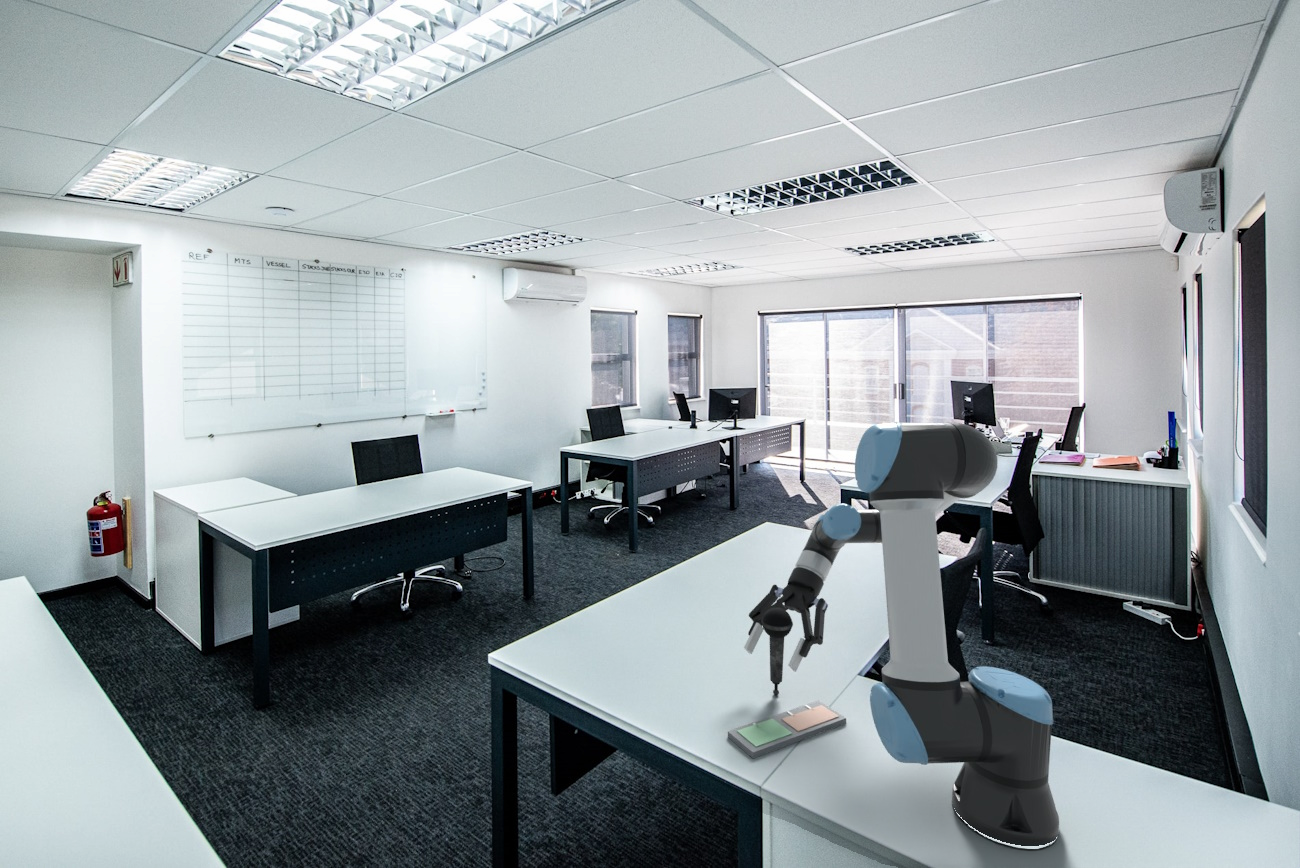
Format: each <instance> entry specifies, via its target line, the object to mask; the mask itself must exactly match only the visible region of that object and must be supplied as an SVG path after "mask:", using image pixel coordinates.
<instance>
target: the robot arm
mask: <svg viewBox="0 0 1300 868" xmlns="http://www.w3.org/2000/svg"><path fill="white" fill-rule="evenodd" d="M854 462H855V463H854V477H855V480H856V485H857V487H858V489H859V490H860V491H861V492H864V493H866V494H869V495H868V496H869V504H870V505H871V506H872V507H873V508H874V509H856V508H855V507H854V506H851V505H850V504H847V503H837V504H835V505H833V506H832V507H831V508H830V509H828V510H826V511H825V513H824V514H821V515H820V516H819V517H818V519H817V520H816V521H815V523H814V526H813V528H812V531H811V533H810V535H809V537H808V539H807V541H806V544H805V545H804V548H803V549H802V551H801V552H800V555H799V557H798V559H797V561H796V563H795V567H794V568H793V570H792V571H791V574H790V576H789V577H788V580H787V584H786V586H785V587H783V588H782V587H779V586H778V585H777V584H773V585H772V586H771V588H770V590H769V592H768V593H767V594H766V595H765V596H764V598H763V599H761V601H759V602H758V604H757V605H756V606H755V607H754V608H753V609H752V610H751V611H750V612H749V613H748V617H749V618H750V619H751V620H752V624H751V627H750V628H749V630H748V639H747V641H746V643H745V644H744V647H743V649H744V650H745V651H746V652H747V653H749V655H752V654H753V652H754V650H755V648H756V646H757V644H758V643H759V640H760V638H761V636H762V634H763V632H764V631H765V630H764V629H763V625H762V623H761V621H762V619H763V616H764V614H765V613H766V612H767V611H768V610H769V609H771V608H781V609H784V610H785V611H786V612H787V611H788V610H789V611H792V612H793V611H795V612H796V613H799V614H800V615H801V623H802V629H803V638H802V637H800V638H799V640H798V642H797V645H796V646H795V649H794V651H793V654H792V655H791V657H790V660H789V663H788V665H787V666H788V667H789V668H790V669H791V670H792V671H793V672H795V673H797V671H798V668H799V666H800V664H801V662H802V660H803V658H807V657H808V655H809V652H810V650H811V648H812V646H813V645H820V646H821V645H823V644H824V630H825V629H824V628H825V615H826V611H827V610H828V607H829V604H828V603H827V601H826V600H825V599H824V598H823V597H821V598H817V597H819V595H820V593H821V592H822V589H823V587H824V584H825V583H824V582H825V581H826V580H827V577H828V575H829V574H830V571H831V569H832V567H833V564H834V562H835V560H836V558H837V556H838V554H839V552H840V550H841V548H843V547H844V546H845V545H846V544H871V543H873V544H875V543H877V544H878V543H881V544H882V557H883V558H882V559H883V572H884V583H885V584H884V585H885V586H884V587H885V599H886V601H885V602H886V613H887V615H886V616H887V626H888V627H887V628H888V639H889V640H888V641H889V655H890V656H889V657H890V659H889V661H888V662H887V663H886V664H885V665H884V666H883V667H882V668H881V679H882V680H881V682H877V683H876V684H873V685H872V686H871V688H870V694H869V704H870V710H871V715H872V721H873V724H874V727H875V729H876V732H877V735H878V737H879V738H880V741H881V743H882V745H883V746H884V747H883V748H884V749H885V750H886V751H887V753H888V754H889V755H890V756H891V757H892V758H893V759H894V760H896V761H898V762H899V763H902V764H903V763H904V764H920V765H923V766H926V765H928V764H952V763H953V764H956V763H963V764H962V766H961V768H960V771H959V772H958V774H957V775H956V779H955V781H954V783H953V785H952V791H951V804H952V803H953V806H954V808H955V810H956V812H957V813H958V814H959V815H960V817H962V819H963V820H965V821H966V822H967V823H968V824H969V825H970V826H972V827H973V828H975V829H976V830H978V831H979V832H981V833H983V834H985V835H987V836H989V837H992V838H994V839H997V840H1000V841H1002V842H1006V843H1010V844H1015V845H1021V846H1039V845H1045V844H1047V843H1050V842H1052V841H1054V840H1055V839H1056V837H1057V836H1058V837H1059V834H1058V833H1060V830H1059V829H1060V818H1059V817H1060V816H1059V814H1058V811H1057V807H1056V803H1055V801H1054V796H1053V794H1052V790H1051V787H1050V783H1049V773H1050V757H1051V756H1050V755H1051V741H1052V729H1053V728H1052V725H1053V724H1054V718H1053V716H1054V715H1053V702H1052V698H1051V695H1050V694H1049V693H1048V691H1047V690H1046V689H1045V688H1044V687H1042V686H1041V685H1040V684H1039V683H1037V682H1036V681H1034V680H1032V679H1029V678H1028V677H1025V676H1023V675H1022V674H1020V673H1016V672H1013V671H1010V670H1007V669H1003V668H998V667H992V666H976V667H974V668H972V669H971V670H970V672H969V674H968V676H967V678H968V681H961V679H960V673H959V672H958V671H957V670H956V669H955V668H954V667H953V666H952V665H951V664H950V663H949V660H948V659H949V658H948V648H947V647H948V646H947V635H946V624H945V614H944V613H945V612H944V601H943V600H944V599H943V590H942V589H943V588H942V577H941V566H940V565H941V564H940V555H939V544H938V543H939V541H938V531H937V529H938V528H937V518H936V517H937V516H938V515H939V514H941V513H943V511H945V510H947V509H948V508H949V507H951V506H952V505H953V504H955V503H957V501H959V500H961V499H962V500H963V499H964V500H965V499H969V498H973V497H974V496H976V495H978V494H979V493H981V492H982V491H984V490H985V489H986V488H987V487H988V486H989V485H990V483H992V481H993V480H994V478H995V476H996V473H997V469H998V455H997V451H996V449H995V447H994V445H993V443H992V442H991V441H990V439H989V438H988V437H987V436H986V435H985V434H984V432H982V431H980V430H979V429H977V428H975V427H973V426H970V425H968V424H965V423H960V422H899V421H898V422H897V421H896V422H890V423H889V422H888V423H878V424H873V425H871V426H869V428H867V429H866V430H865V432H863V434H862V436H861V438H860V440H859V443H858V445H857V449H856V453H855V460H854ZM814 606H815V612H814V613H815V614H814V622H813V623H814V624H813V627H812V619H811V611H810V608H812V607H814ZM953 806H952V807H953Z"/></svg>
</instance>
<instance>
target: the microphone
mask: <svg viewBox="0 0 1300 868" xmlns="http://www.w3.org/2000/svg"><path fill="white" fill-rule="evenodd" d="M761 623H762V625H763V626H762V627H763V629H764V630H763V631H764V632H765V633H766V634H767V635H768V636H769V671H770V672H769V681H771V682H772V684H774V689H773V690H772V693H773V695H774V696H778V695H779V694H780V690H779V688H778V687H779V686H778V685H780V684H781V683H782V682H783V670H784V650H785V637H787V636H788V635H789V634H790V633H791V631H792V628H793V626H794V622H793V620H792V618H791V615H790V614H789V612H788V611H787V610H786V611H785V610H784V609H781V608H771V609H769V610H768V611H767V612H766V613H765V614H764V616H763V619H762V621H761Z"/></svg>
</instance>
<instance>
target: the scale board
mask: <svg viewBox="0 0 1300 868" xmlns="http://www.w3.org/2000/svg"><path fill="white" fill-rule="evenodd" d="M843 725H847V717H845V716H844V715H842V714H841V713H839V712H838V711H836V710H834V709H833V708H831V707H829V706H828V705H827V704H825V703H824V702H821V701H820V700H818V699H817V700H815V701H813V702H810V703H806V704H804V705H802V706H801V705H800V706H798V707H795V708H792V709H790V710H786V711H783V712H780V713H777V714H774V715H772V716H768V717H766V718H763V719H759V720H756V721H754V722H751V723H748V724H745V725H743V726H738V727H736V728H734V729H730V730H727V738H728V739H729V740H731V741H732V742H733V743H734V744H735V745H736V746H737V747H739V748H740V749H741V750H742V751H743V752H744V753H746V754H747V755H748V756H749V755H750V756H749V757H751V759H756V758H758V757H760V755H761V756H763V755H766V754H769V753H771V752H773V751H776V750H780V749H782V748H784V747H785V748H786V747H787V746H790V745H793V744H795V743H798V742H801V741H804V740H806V739H808V738H811V737H814V736H817V735H819V734H822V733H825V732H827V731H830V730H832V729H835V728H837V727H841V726H843ZM757 756H758V757H757ZM755 757H756V758H755Z"/></svg>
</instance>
